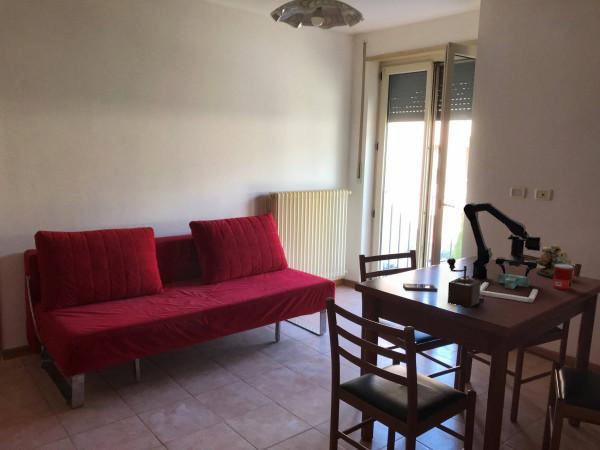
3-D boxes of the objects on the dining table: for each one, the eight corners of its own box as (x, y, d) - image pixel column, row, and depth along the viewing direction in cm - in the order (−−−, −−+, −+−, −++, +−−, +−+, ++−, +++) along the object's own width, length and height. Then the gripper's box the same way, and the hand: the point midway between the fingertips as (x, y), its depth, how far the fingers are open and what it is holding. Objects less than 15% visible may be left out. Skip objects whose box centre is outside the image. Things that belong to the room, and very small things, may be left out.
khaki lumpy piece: (530, 274, 267) (532, 243, 265) (540, 271, 275) (542, 240, 272) (565, 281, 253) (568, 248, 251) (575, 277, 261) (578, 245, 259)
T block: (493, 286, 243) (494, 278, 243) (499, 280, 253) (500, 273, 252) (524, 290, 236) (525, 282, 235) (529, 285, 245) (530, 277, 245)
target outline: (475, 293, 230) (476, 290, 230) (483, 284, 245) (484, 282, 245) (532, 302, 217) (532, 299, 217) (537, 292, 233) (537, 289, 232)
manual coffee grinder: (480, 302, 217) (483, 262, 214) (469, 308, 209) (472, 266, 206) (447, 295, 227) (449, 256, 225) (435, 300, 219) (438, 260, 217)
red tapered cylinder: (573, 290, 237) (575, 268, 235) (555, 289, 239) (557, 267, 237) (568, 286, 244) (570, 264, 243) (550, 285, 246) (552, 263, 244)
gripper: (494, 249, 246) (492, 280, 248) (536, 253, 236) (533, 285, 239) (498, 245, 255) (496, 275, 258) (538, 249, 246) (536, 280, 248)
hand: (515, 279), depth 250 cm, fingers open, 9 cm apart
